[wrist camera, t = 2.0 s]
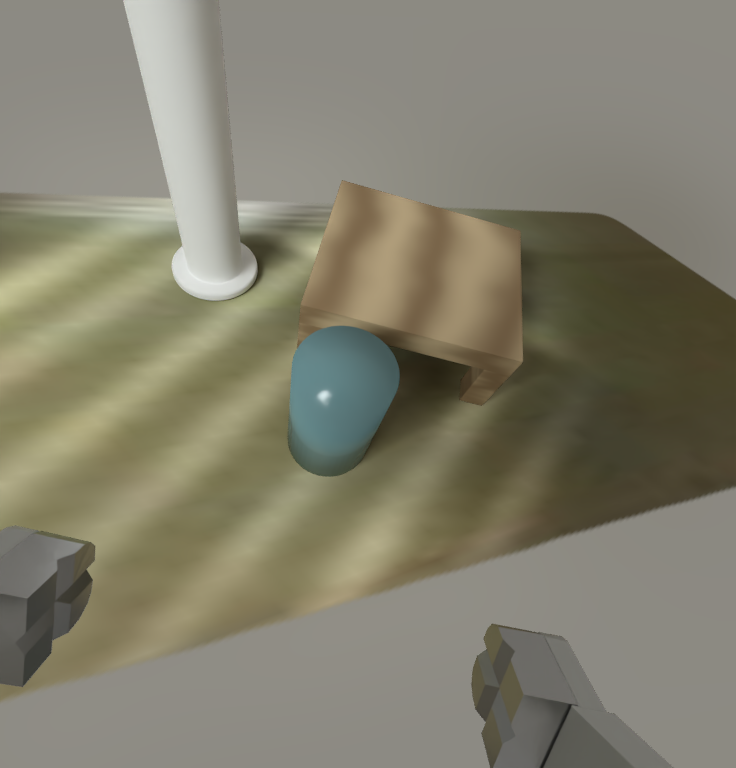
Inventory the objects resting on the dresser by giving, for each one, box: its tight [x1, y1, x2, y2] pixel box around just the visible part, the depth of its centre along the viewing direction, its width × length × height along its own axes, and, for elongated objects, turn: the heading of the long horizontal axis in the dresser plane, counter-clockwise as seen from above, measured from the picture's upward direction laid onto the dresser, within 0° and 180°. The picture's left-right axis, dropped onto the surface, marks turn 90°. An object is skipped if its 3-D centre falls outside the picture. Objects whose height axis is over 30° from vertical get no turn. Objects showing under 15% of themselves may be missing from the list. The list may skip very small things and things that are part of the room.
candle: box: [123, 0, 258, 301], centre depth 27 cm, size 7×7×25 cm
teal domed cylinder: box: [288, 326, 400, 477], centre depth 28 cm, size 6×6×10 cm
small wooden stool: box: [297, 180, 523, 406], centre depth 36 cm, size 16×14×7 cm
